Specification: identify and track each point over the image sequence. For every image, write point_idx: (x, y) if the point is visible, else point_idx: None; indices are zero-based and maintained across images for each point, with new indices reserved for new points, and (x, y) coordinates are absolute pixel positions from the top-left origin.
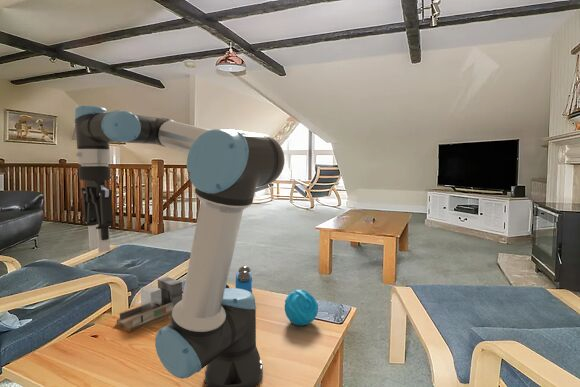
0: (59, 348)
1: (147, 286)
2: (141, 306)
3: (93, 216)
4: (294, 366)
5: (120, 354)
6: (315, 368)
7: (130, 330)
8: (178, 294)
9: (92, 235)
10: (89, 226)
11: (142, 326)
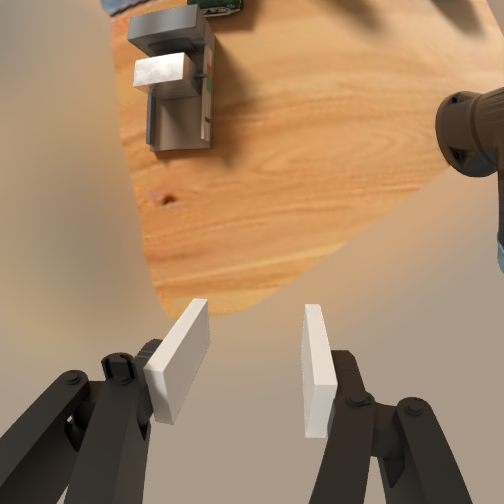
0: (166, 258)
1: (138, 70)
2: (154, 97)
3: (137, 448)
4: (501, 82)
5: (275, 199)
6: None
7: (210, 147)
8: (204, 25)
9: (190, 372)
10: (172, 421)
11: (211, 122)
